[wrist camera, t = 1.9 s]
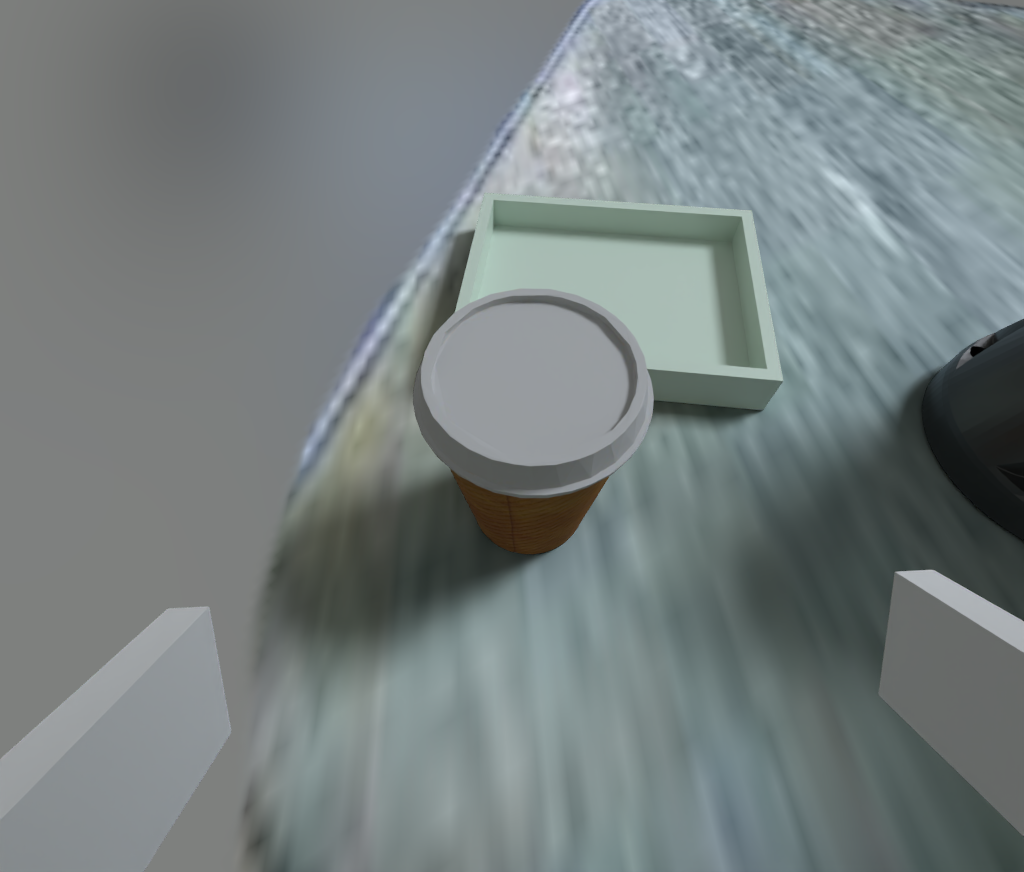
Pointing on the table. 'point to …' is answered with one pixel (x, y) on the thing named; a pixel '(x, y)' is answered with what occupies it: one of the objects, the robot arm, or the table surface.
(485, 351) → the disposable coffee cup
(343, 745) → the table surface
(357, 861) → the table surface
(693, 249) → the sage tray
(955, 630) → the robot arm
